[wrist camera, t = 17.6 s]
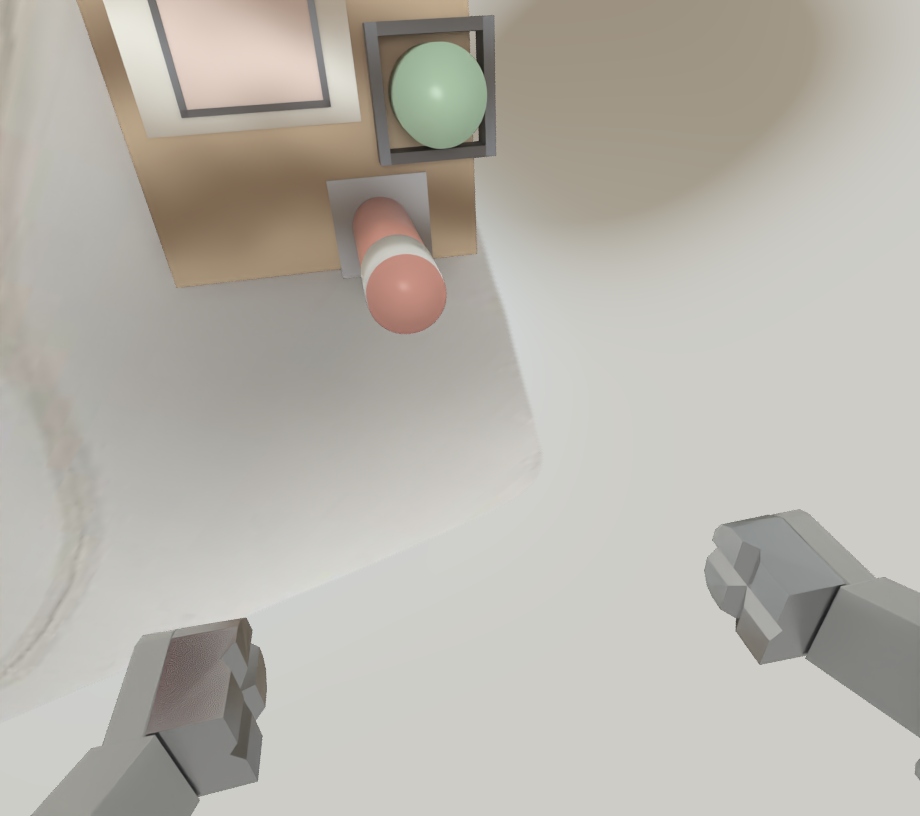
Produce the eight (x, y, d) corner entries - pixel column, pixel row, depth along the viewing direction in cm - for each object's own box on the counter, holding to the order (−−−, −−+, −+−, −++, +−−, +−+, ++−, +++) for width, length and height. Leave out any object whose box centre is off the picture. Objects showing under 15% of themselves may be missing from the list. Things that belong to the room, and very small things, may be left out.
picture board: (486, 254, 32) (497, 269, 30) (184, 288, 30) (173, 308, 28) (472, -277, 21) (489, -316, 19) (-11, -287, 19) (-56, -331, 17)
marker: (390, 266, 30) (417, 348, 22) (340, 234, 29) (349, 310, 21) (422, 218, 29) (463, 285, 21) (372, 183, 28) (395, 240, 20)
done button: (473, 136, 28) (488, 144, 25) (393, 143, 27) (400, 152, 25) (470, 39, 25) (485, 38, 23) (382, 45, 25) (389, 44, 22)
